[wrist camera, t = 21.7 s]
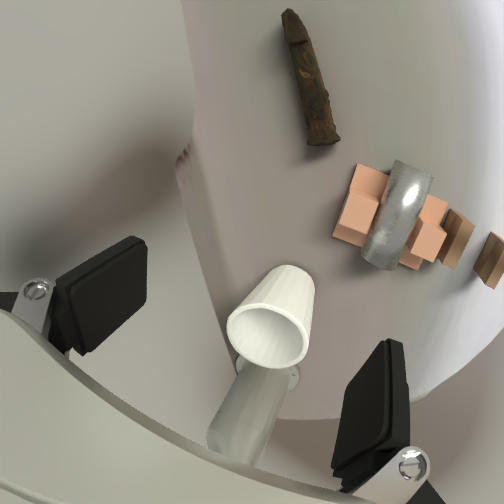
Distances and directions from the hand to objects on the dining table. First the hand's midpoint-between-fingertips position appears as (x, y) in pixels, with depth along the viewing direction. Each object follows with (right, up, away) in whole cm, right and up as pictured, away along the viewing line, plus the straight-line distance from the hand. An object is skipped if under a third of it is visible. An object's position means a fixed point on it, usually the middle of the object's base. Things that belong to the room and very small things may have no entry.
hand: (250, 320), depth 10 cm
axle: (+18, +8, +21) cm, 29 cm away
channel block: (+30, +4, +20) cm, 36 cm away
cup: (+6, -2, +32) cm, 33 cm away
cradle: (+18, +7, +23) cm, 30 cm away
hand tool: (+7, +25, +20) cm, 32 cm away
